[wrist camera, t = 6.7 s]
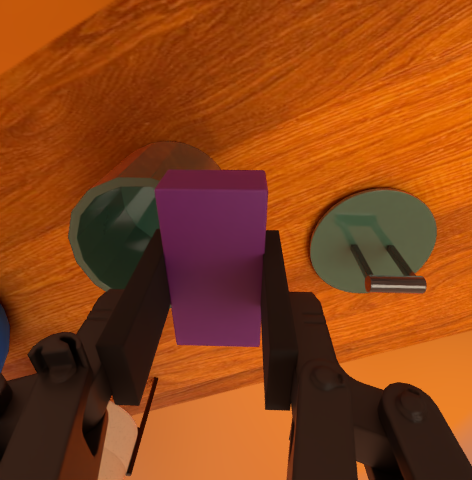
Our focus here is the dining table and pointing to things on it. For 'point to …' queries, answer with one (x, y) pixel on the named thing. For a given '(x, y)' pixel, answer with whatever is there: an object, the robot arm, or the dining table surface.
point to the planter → (122, 441)
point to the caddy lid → (374, 242)
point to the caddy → (126, 211)
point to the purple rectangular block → (214, 253)
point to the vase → (4, 337)
